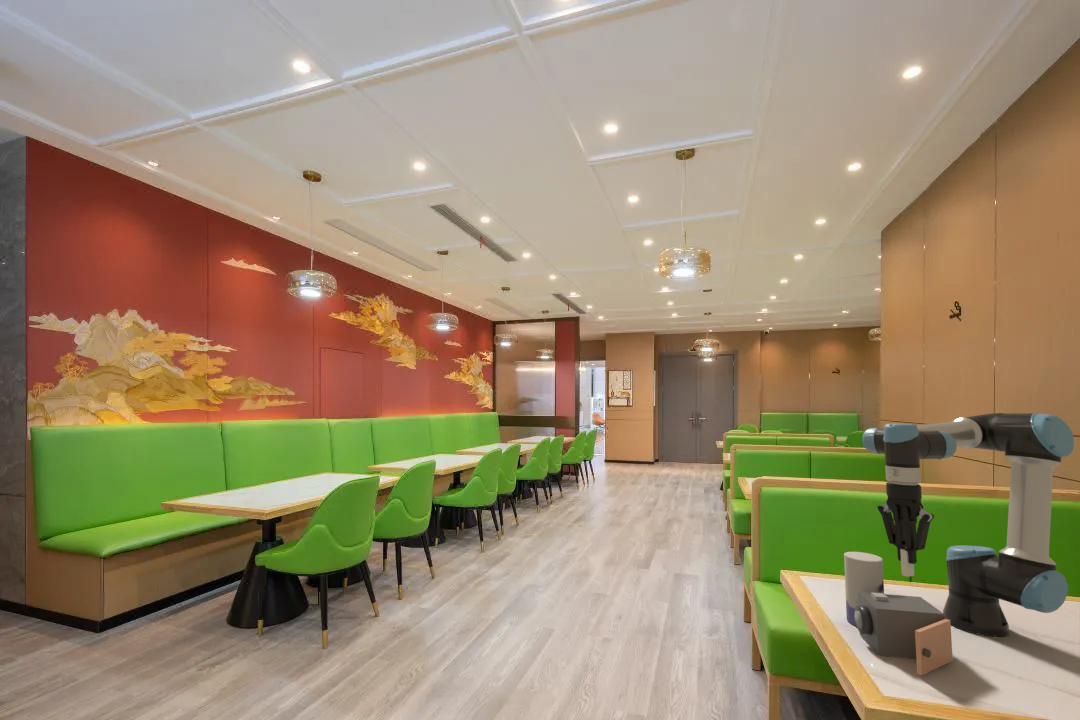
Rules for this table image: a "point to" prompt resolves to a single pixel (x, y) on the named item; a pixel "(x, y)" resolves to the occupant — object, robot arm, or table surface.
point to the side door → (933, 646)
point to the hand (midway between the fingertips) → (908, 575)
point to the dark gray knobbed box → (893, 622)
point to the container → (861, 578)
